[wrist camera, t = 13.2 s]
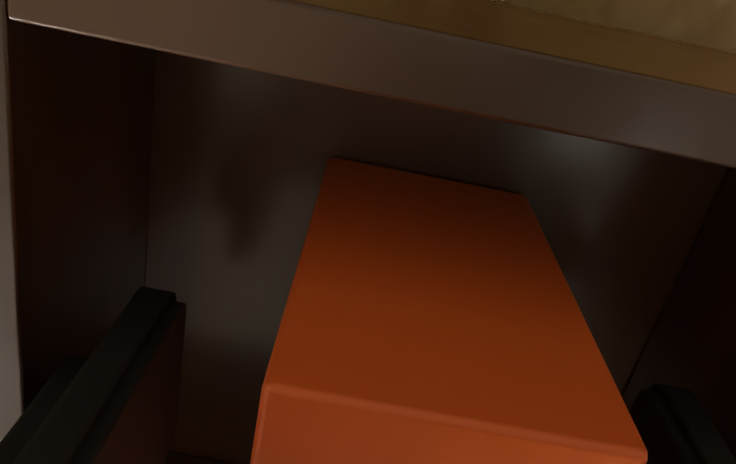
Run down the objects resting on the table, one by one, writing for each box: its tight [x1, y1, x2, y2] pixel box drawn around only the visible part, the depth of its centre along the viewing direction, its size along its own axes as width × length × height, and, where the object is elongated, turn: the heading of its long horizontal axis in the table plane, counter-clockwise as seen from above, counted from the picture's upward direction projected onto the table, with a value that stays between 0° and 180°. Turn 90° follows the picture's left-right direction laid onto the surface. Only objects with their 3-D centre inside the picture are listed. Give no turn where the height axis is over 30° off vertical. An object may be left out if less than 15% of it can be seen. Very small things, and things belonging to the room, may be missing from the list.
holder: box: [0, 0, 736, 464], centre depth 12 cm, size 13×13×6 cm
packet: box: [250, 157, 648, 464], centre depth 11 cm, size 4×6×7 cm, turn 169°
